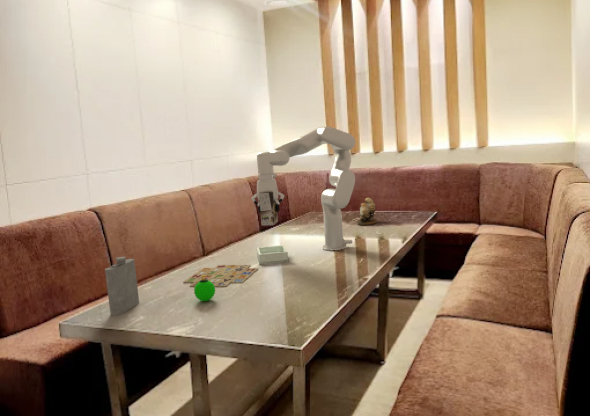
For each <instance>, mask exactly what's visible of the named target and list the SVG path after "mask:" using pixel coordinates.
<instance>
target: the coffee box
mask: <svg viewBox="0 0 590 416" xmlns="http://www.w3.org/2000/svg"><path fill="white" fill-rule="evenodd" d="M259 196H260V210H261V214H260V220H261V221H260V222H261V226H274V225H276V224H278V222H279V218H278V213H277V212H276V201H275V200H274V196H273V192H264V193H259Z"/></svg>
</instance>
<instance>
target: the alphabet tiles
mask: <svg viewBox="0 0 590 416" xmlns="http://www.w3.org/2000/svg"><path fill="white" fill-rule="evenodd" d="M258 269H259V268H258V267H251V265H250V264H218V265H216V266H215V267H203V268H201V269H199V270H198V271H196V273H194V274H192V275H190V277H187V278H186V279H185V280H184V281H183V284H190V285H189V287H190V288H194V287H195V285H196V284H197V283H198V282H199V281H200V280H202V279H204V278H205V279H207V280H209V281H211V282H212V283H213V285H214V287H215V288H226V287H228V286H229V285H230V284H243V283H245V281H246V280H248V279H249V278H251V276H253V274H255V272H257V271H258ZM202 275H205V277H203V278H202V277H201V276H202Z"/></svg>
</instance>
